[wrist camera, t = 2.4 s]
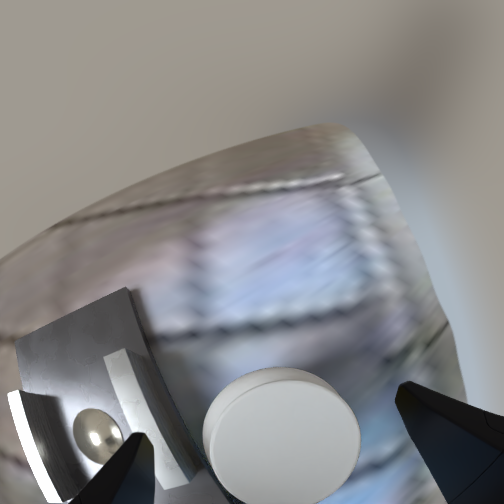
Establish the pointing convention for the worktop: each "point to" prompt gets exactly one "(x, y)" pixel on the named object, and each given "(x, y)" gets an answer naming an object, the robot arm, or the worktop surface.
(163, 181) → the worktop surface
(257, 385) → the supplement bottle
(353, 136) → the worktop surface
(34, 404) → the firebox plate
